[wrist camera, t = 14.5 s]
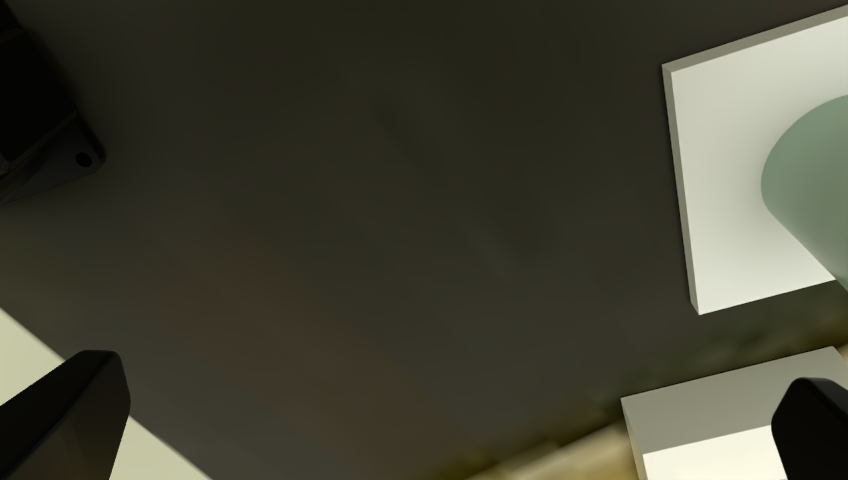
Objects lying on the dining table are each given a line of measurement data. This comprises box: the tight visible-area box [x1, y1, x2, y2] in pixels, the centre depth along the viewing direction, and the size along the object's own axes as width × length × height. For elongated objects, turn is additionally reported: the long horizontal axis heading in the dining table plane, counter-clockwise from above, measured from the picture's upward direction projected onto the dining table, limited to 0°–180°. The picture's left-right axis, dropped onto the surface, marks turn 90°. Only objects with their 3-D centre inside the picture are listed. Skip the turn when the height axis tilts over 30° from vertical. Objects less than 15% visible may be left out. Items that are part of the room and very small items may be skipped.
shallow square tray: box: [620, 346, 848, 480], centre depth 28 cm, size 9×9×3 cm
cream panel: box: [662, 5, 848, 315], centre depth 21 cm, size 10×10×1 cm
